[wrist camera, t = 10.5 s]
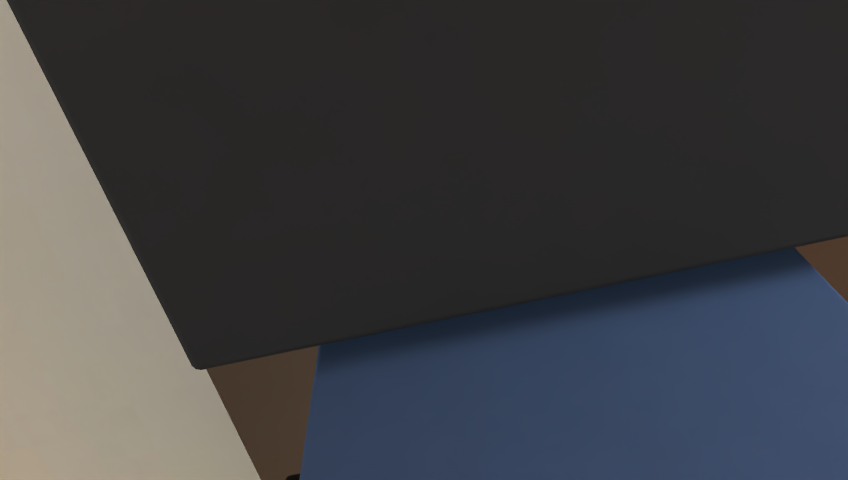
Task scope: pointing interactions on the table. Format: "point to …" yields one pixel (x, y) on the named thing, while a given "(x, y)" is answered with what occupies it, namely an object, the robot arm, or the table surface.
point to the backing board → (294, 374)
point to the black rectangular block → (442, 149)
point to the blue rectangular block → (600, 385)
